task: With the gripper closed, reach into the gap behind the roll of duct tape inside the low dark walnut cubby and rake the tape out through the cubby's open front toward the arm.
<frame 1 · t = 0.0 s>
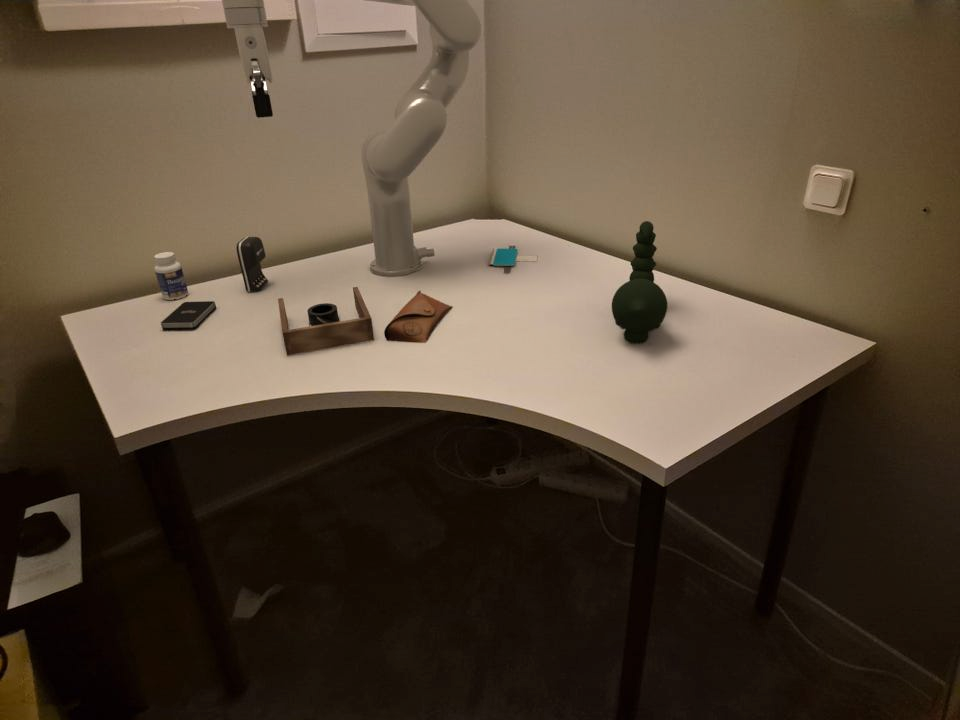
hand: (264, 114, 129), 37 cm above the table, tool pointing down, fingers open, 9 cm apart
cubby: (326, 328, 123), on the table
pill bottle: (176, 297, 141), on the table
sunglasses case: (421, 325, 125), on the table
toy figurine: (637, 327, 119), on the table
battery charger: (259, 288, 144), on the table
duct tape: (324, 323, 127), on the table
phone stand: (512, 262, 155), on the table
external hard drive: (191, 321, 130), on the table
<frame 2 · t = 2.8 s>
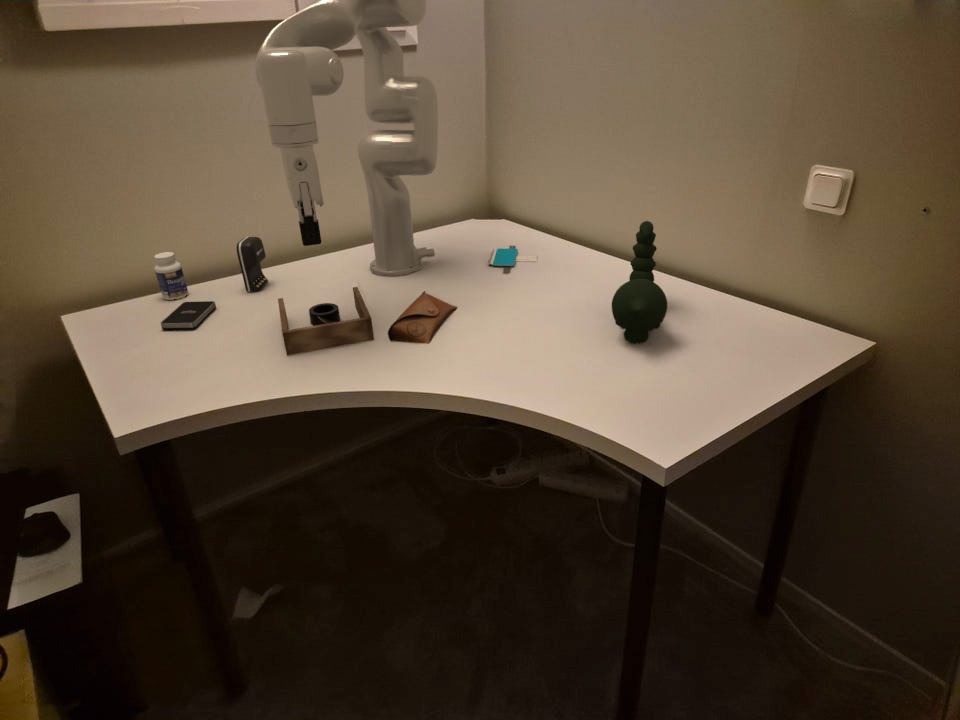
hand: (312, 243, 111), 19 cm above the table, tool pointing down, fingers closed
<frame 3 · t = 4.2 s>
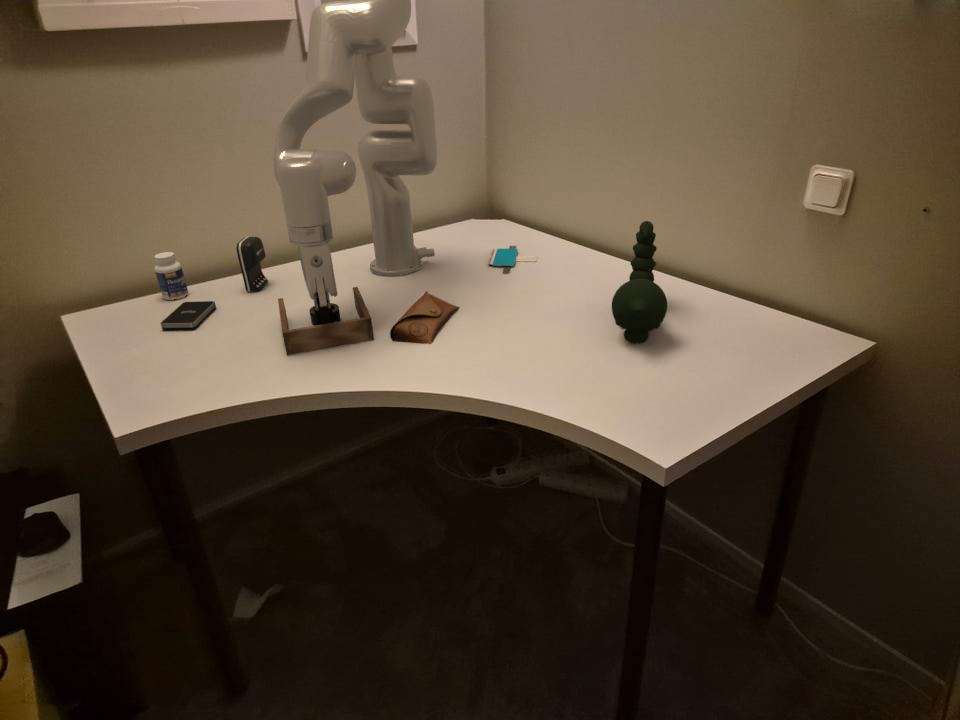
hand: (325, 326, 119), 2 cm above the table, tool pointing down, fingers closed
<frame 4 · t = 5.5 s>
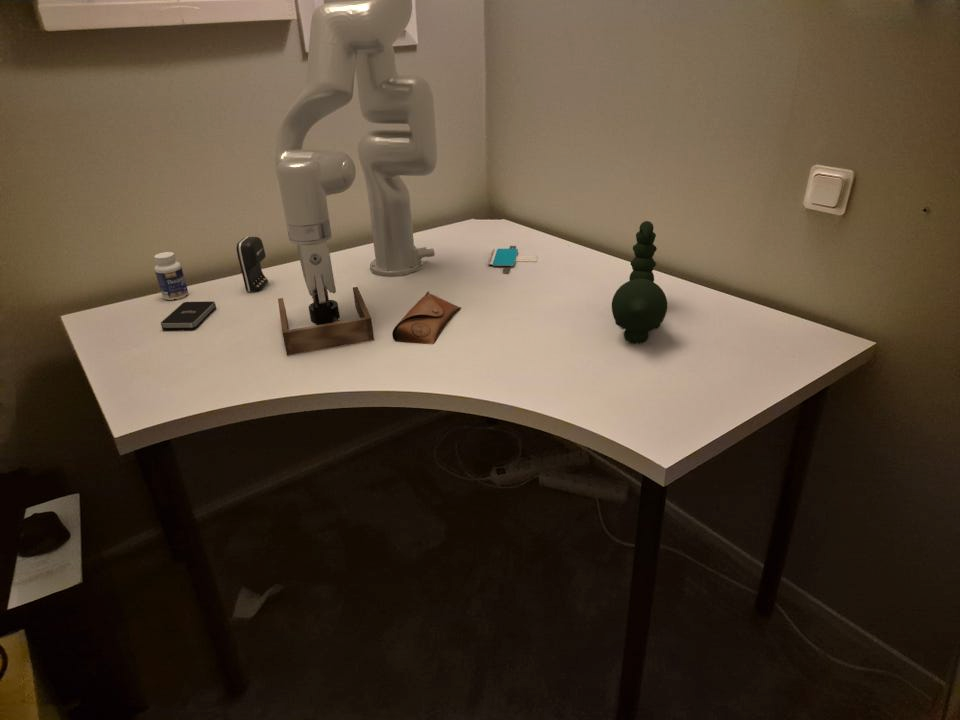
hand: (324, 322, 121), 2 cm above the table, tool pointing down, fingers closed
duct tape: (325, 319, 128), on the table, touching gripper
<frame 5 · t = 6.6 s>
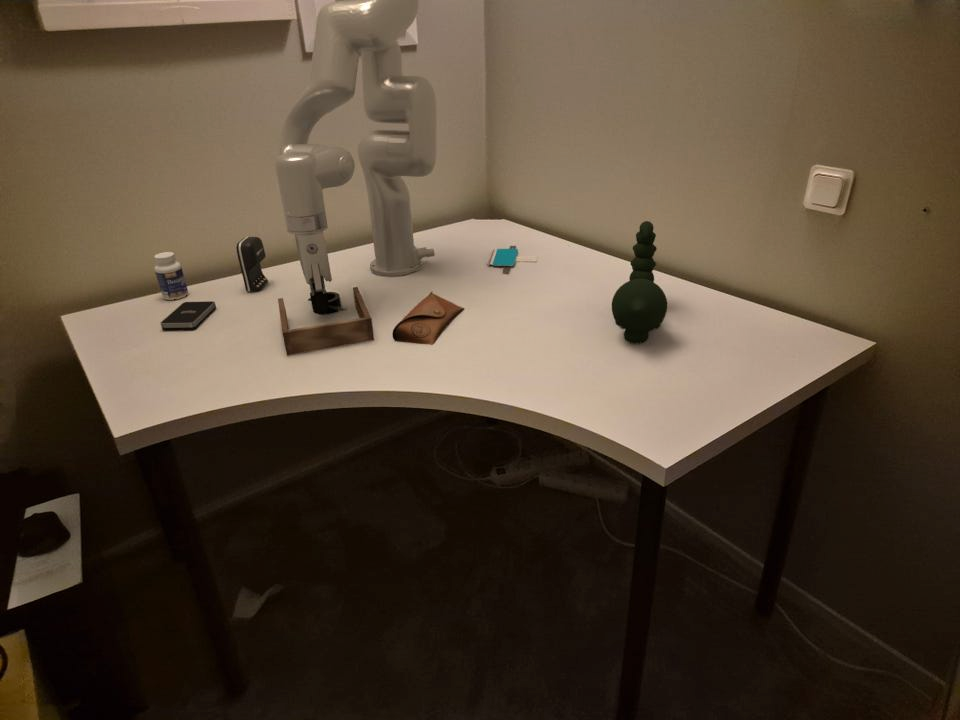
hand: (321, 310, 127), 2 cm above the table, tool pointing down, fingers closed
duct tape: (327, 310, 132), on the table, touching gripper
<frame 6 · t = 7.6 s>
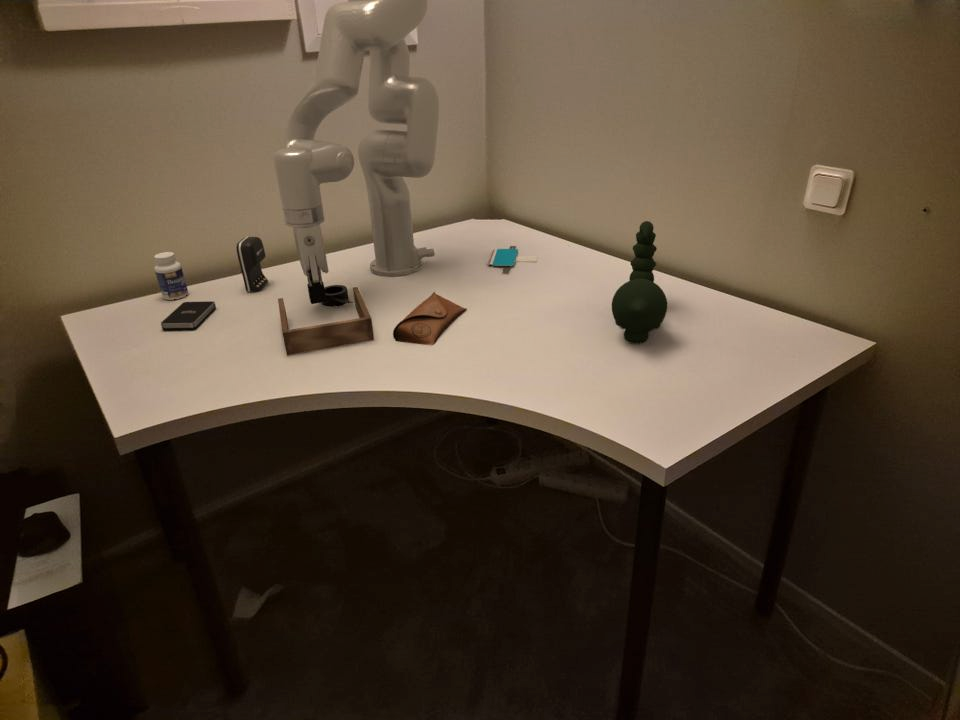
hand: (318, 301, 131), 2 cm above the table, tool pointing down, fingers closed
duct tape: (335, 303, 135), on the table, touching gripper
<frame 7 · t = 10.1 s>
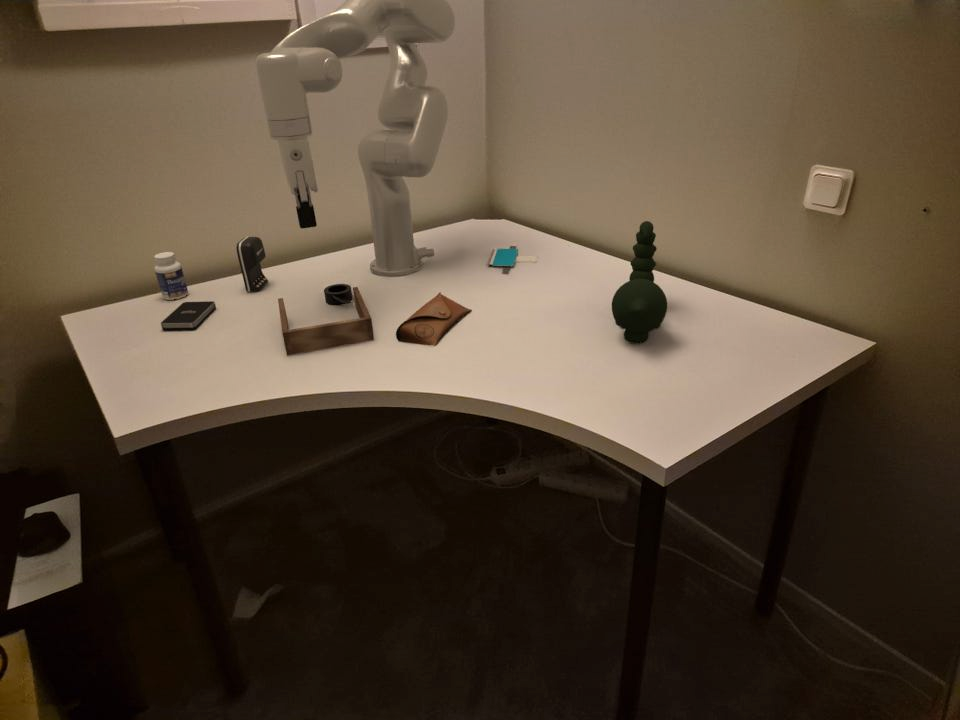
hand: (308, 226, 123), 18 cm above the table, tool pointing down, fingers closed
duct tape: (339, 302, 136), on the table
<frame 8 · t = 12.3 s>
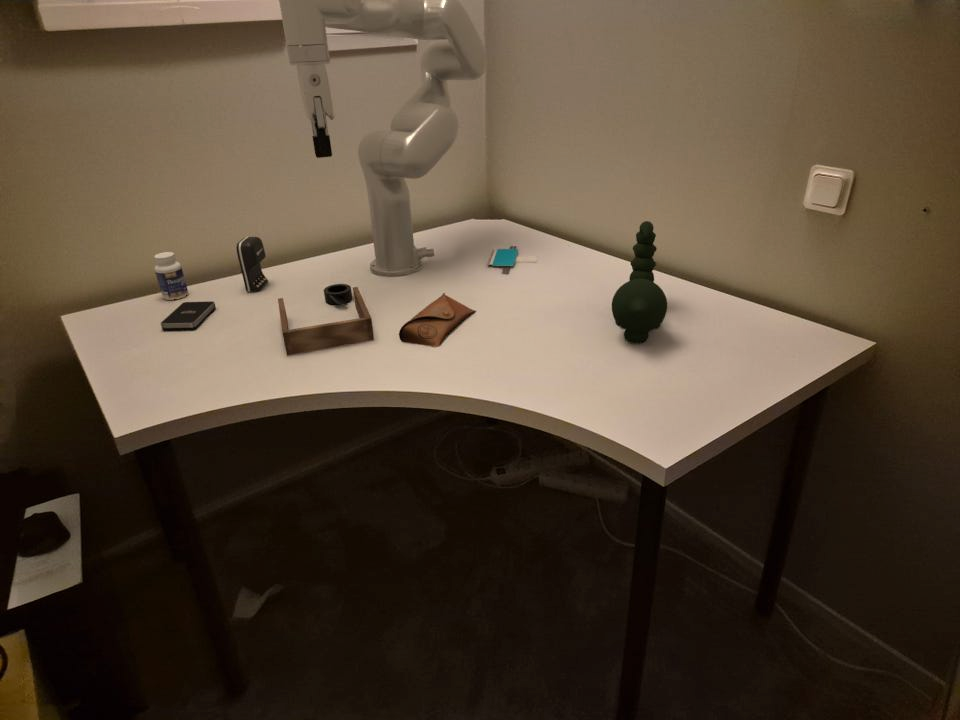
hand: (323, 156, 127), 29 cm above the table, tool pointing down, fingers closed
at the end: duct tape inside the target area (6.8 cm from its centre), on the table; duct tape moved 10.8 cm from its start; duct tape tilted 0° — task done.
